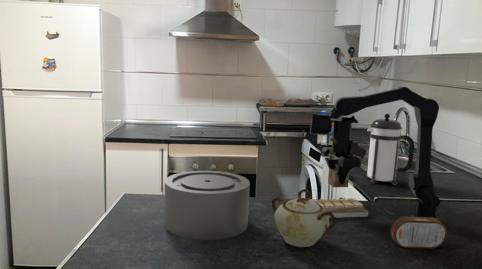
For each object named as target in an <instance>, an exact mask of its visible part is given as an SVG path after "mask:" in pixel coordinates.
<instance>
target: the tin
mask: <svg viewBox="0 0 482 269" xmlns="http://www.w3.org/2000/svg"><path fill="white" fill-rule="evenodd" d="M389 232H390V237H391V238H392V240H393V241H394V242H395V243H396V244H397V245H398V246H400V247H401V248H405V249H408V248H409V249H431V250H432V249H436V248H437V249H438V248H439V247H441V246H442V245H443V244H444V243H445V242H446V239H447V236H448V230H447V227H446V226H445V225H444V223H443V222H442V221H441V220H440V219H438V218H431V217H411V216H401V217H398V219H396V220H395V221H394V222H393V223H392V224H391V226H390V231H389Z"/></svg>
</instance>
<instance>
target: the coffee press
mask: <svg viewBox="0 0 482 269" xmlns="http://www.w3.org/2000/svg"><path fill="white" fill-rule="evenodd" d="M390 118H391V114H389V113H385V114H384V118H377V119H374V120H373V121H372V123H371V124H370V125H369V127H368V129H367V130H366V131H367V132H370V134H369V137H370V141H369V150H368V158H367V159H368V162H367V172H366V174H365V176H364V177H365V178H366V179H371V180H370V181H369V182H370V184H372V185H374V184H375V183H376V182H377V181H379V182H390V183H391V184H392V185H393V186H397V185H398V181H397V179H396V178H397V173H405V172H407V171H409V170H410V169H411V168H412V166H413V162H414V154H415V143H414V140H413V138H412V137H411V136H408V135H405V134H403V135H401V132H402V129H403V126H402V124H401V123H400V121H398V120H394V119H390ZM401 140H405V141H408V144H409V149H408V156H407V157H408V158H407V164H406V166H404V167H398V159H399V150H400V144H401Z"/></svg>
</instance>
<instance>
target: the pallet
mask: <svg viewBox="0 0 482 269" xmlns="http://www.w3.org/2000/svg"><path fill="white" fill-rule="evenodd" d="M310 200H311V201H313V202H316V203H318V204H320V205H321V206H322V207H323V209H324V210H325V211H360V210H365V206H364V204H362V203H361V202H359V201H358V199H357V200H356V199H355V198H337V199H336V198H328V199H327V198H319V200H318V198H314V199H313V198H312V199H311V198H310Z"/></svg>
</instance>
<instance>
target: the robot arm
mask: <svg viewBox="0 0 482 269" xmlns="http://www.w3.org/2000/svg"><path fill="white" fill-rule="evenodd" d="M336 99H337V100H336V101H335V103H334V107H333V108H332V109H331V110H330V111H331V112H330V113H329V114H328V115H323V114H319V113H312V114H311V122H310V128H309V130H310V131H309V132H310V135H318V134H319V135H328V133H330V132H331V130H332V122H334V128H333V138H330V141H332V147H322V149H321V150H320V156H322V157H324V160H325V162H326V165H327V167H328V170H329V169H335V168H336V170H337V174H338V179H339V183H340V185H343V184H344V182H345V179H346V177H347V175H348V172H349V173H350V171H351V170H352V169H354V168H361V167H362V160H363V159H364V158H365V156H366V154H367V152H368V149H365V148H362V147H360V146H359V144H358V143H357V142H355V141H354V140H353V139H352V126H353V124H359V120H358V119H356V117H355V115H354V114H355V113H358V112H359V111H361V110H364V109H366V108H370V107H375V106H379V105H384V104H388V103H393V102H398V101H403V102H405V103H406V104H408V105H409V106H411V107H412V108H414V109H413V110H414V116H415V120H416V125H417V134H416V135H417V136H416V156H415V169H414V171H413V173H410V172H409V173H408V178H409V179H408V180H409V181H408V183H407V185H408V187H409V189H410V191H411V192H412V193H413V194H414V196H415V198H416V201H415V208H414V214H413V215H410V217H431V218H436V217H437V210H438V207H439V206H440V204H441V202H442V201H441V198H439V197H438V196H437V195H436V194H435V189H434V188H435V186H434V181H433V177H432V174H431V164H432V163H431V162H432V161H431V159H432V145H433V129H434V126H435V123H436V122H437V118H438V114H439V110H440V106H439V103H438V102H437V101H436V100H435V99H432V98H427V97H423V96H422V95H420V94H418V93H416V92H414V91H412V90H411V89H410V88H409V87H406V86H399V87H397V88H393V89H388V90H383V91H379V92H375V93H370V94H367V95H360V96H357V95H356V96H341V97H339V98H336ZM348 116H350V117H348ZM337 118H339V119H338V120H336V119H337ZM361 159H362V160H361ZM436 219H437V218H436Z"/></svg>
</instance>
